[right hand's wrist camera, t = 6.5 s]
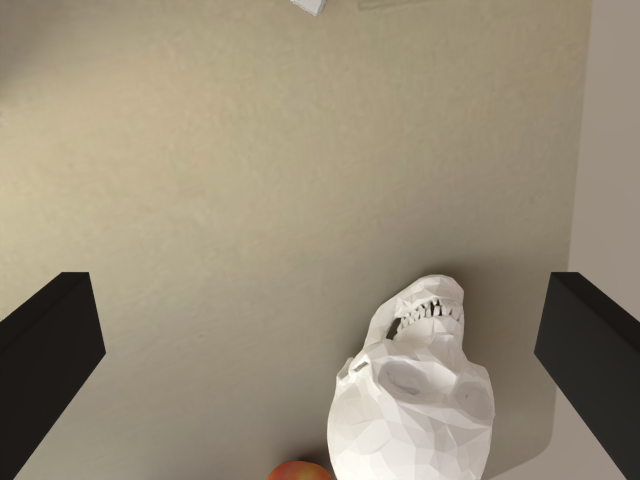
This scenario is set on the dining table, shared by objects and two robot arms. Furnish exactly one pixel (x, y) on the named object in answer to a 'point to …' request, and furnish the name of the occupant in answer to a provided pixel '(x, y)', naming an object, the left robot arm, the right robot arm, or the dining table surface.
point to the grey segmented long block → (311, 5)
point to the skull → (413, 395)
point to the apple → (299, 471)
